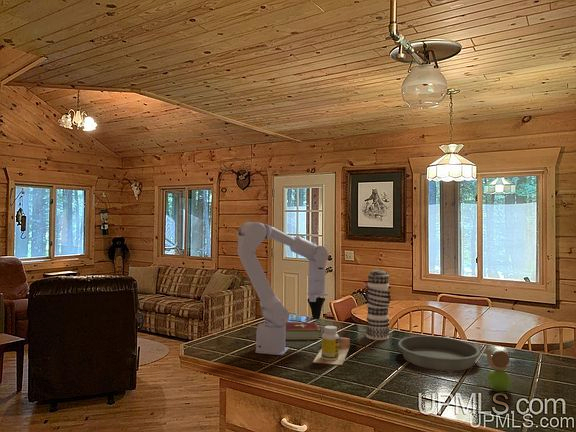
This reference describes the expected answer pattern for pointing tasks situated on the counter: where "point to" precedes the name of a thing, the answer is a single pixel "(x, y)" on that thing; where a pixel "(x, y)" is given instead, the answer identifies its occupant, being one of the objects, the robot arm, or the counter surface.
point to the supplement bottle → (330, 343)
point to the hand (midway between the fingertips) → (316, 319)
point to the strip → (343, 350)
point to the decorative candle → (377, 305)
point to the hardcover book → (302, 331)
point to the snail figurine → (498, 370)
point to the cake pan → (438, 352)
